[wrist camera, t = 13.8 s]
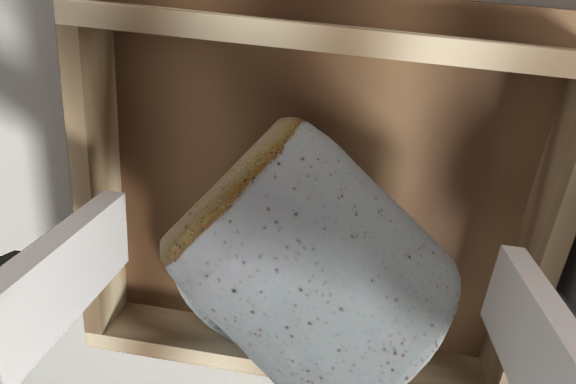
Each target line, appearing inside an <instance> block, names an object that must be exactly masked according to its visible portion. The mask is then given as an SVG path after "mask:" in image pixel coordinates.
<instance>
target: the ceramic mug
mask: <svg viewBox="0 0 576 384" xmlns="http://www.w3.org/2000/svg"><path fill="white" fill-rule="evenodd" d="M160 260H161V262H162V264H163V265H164V267H165V268H166V270H167V272H168V273H169V275H170V276H171V278H172V279H173V280H174V282H175V283H176V286H177V288H178V290H179V292H180V295H181V296H182V298H183V299H184V301H185V302H186V303H187V305H188V306H189V308H191V309H192V311H193V312H194V313H195V314H196V315H197V316H198V317H199V318H200V319H201V320H202V321H203V322H204V323H205V324H206V325H207V326H208V327H209V328H211V329H212V330H214V331H215V332H216V333H218V334H219V335H220V336H222V337H224V338H225V339H227V340H229V341H231V342H232V343H234V344H237V345H238V346H239V347H240V348H241V349H242V350H243V352H244V353H245V354H246V355H247V356H248V357H249V358H250V359H251V360H252V361H253V362H254V363H255V364H256V365H257V366H258V367H259V368H260V369H261V370H262V371H263V372H264V373H265V374H266V375H267V376H268V377H269V378H270V379H271V380H272V381H273V382H274V383H275V384H408V383H409V382H410V381H411V380H412V379H413V378H414V377H415V376H416V375H417V373H418V372H419V371H420V370H421V369H422V368H423V367H424V366H425V365H426V364H427V363H428V362H429V361H430V359H431V358H432V356H433V355H434V354H435V352H436V351H437V350H438V348H439V346H440V345H441V343H442V342H443V340H444V338H445V336H446V334H447V332H448V329H449V327H450V325H451V323H452V321H453V319H454V316H455V314H456V312H457V308H458V304H459V300H460V294H461V277H460V274H459V270H458V268H457V265H456V263H455V261H454V260H453V258H452V257H451V256H450V254H449V253H448V252H447V251H446V250H445V249H444V248H443V247H442V246H441V245H439V244H438V243H437V242H436V241H435V240H434V239H433V238H432V237H431V236H430V235H429V234H428V233H427V232H426V231H425V230H424V229H423V228H422V227H421V226H420V225H419V224H418V223H417V222H416V221H415V220H414V219H413V218H412V217H411V216H410V215H409V214H408V213H407V212H406V211H405V210H404V209H403V208H402V207H400V206H399V205H398V204H397V203H396V202H395V201H394V200H393V199H392V198H391V197H390V196H389V195H388V194H387V193H386V192H385V191H384V190H383V189H382V188H381V187H380V186H378V185H377V184H376V183H375V182H374V181H373V180H372V179H371V178H370V177H369V176H368V175H367V174H366V173H365V172H364V171H363V170H362V169H361V168H360V167H359V166H358V165H357V164H356V163H355V162H354V161H353V160H352V159H351V158H350V157H349V155H348V154H347V153H346V152H345V151H344V150H343V149H342V148H341V147H340V146H339V145H338V144H336V143H335V142H334V141H333V140H332V139H331V138H330V137H328V136H327V135H325V134H324V133H323V132H321V131H320V130H318V129H317V128H316V127H314V126H313V125H311V124H310V123H309V122H307V121H305V120H303V119H301V118H298V117H283V118H281V119H279V120H277V121H276V122H275V123H274V124H273V125H272V126H271V128H270V129H269V130H268V131H267V132H266V133H265V134H264V135H263V136H262V137H261V138H260V139H259V140H258V141H257V142H256V143H255V144H254V145H253V146H252V147H251V148H250V149H249V150H248V151H247V152H246V153H245V154H244V155H243V156H242V157H241V158H240V159H239V160H238V161H237V162H236V163H235V164H234V165H233V166H232V167H231V168H230V169H229V170H228V171H227V172H226V173H225V174H224V175H223V176H222V177H221V178H220V179H219V180H218V181H217V182H216V183H215V184H214V185H213V186H212V187H211V188H210V189H209V190H208V191H207V192H206V193H205V194H204V195H203V196H202V197H201V198H200V199H199V200H198V201H197V202H196V203H195V204H194V205H193V206H192V207H191V208H190V209H189V210H188V211H187V212H186V213H185V214H184V215H183V217H182V218H181V219H179V220H178V221H177V222H176V223H175V224H174V225H173V226H172V227H171V228H170V230H169V231H168V232H167V233H166V234H165V235H164V236H163V237H162V239H161V241H160Z"/></svg>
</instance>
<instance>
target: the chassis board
mask: <svg viewBox="0 0 576 384" xmlns="http://www.w3.org/2000/svg"><path fill="white" fill-rule="evenodd" d="M53 6H54V17H55V27H56V38H57V48H58V58H59V69H60V79H61V89H62V100H63V110H64V121H65V131H66V141H67V152H68V162H69V173H70V183H71V193H72V204H73V213H74V212H75V211H77V210H78V209H79V208H81V207H82V206H83V205H85V204H86V203H87V202H89V201H90V200H91V199H93V198H94V197H96V196H97V195H98V194H100V193H101V192H102V191H104V190H108V191H115V192H122V193H125V200H126V221H127V241H128V262H127V263H126V264H125V265H124V266H123V268H122V269H121V270H120V271H119V272H118V273H117V274H116V275H115V277H114V278H113V279H112V280H111V281H110V282H109V283H108V284H107V286H106V287H105V288H104V289H103V290H102V291H101V292H100V294H99V295H98V296H97V297H96V298H95V299H94V300H93V301H92V303H91V304H90V305H89V306H88V307H87V308H86V309H85V310H84V312H83V318H84V328H85V339H86V346H87V347H93V348H99V349H105V350H111V351H117V352H122V353H128V354H134V355H140V356H146V357H152V358H158V359H164V360H170V361H176V362H182V363H188V364H194V365H200V366H206V367H212V368H218V369H224V370H229V371H235V372H241V373H247V374H253V375H259V376H265V377H268V376H267V375H266V374H265V373H264V372H263V371H262V370H261V369H260V368H259V367H258V366H257V365H256V364H255V363H254V362H253V361H252V360H251V359H250V358H249V357H248V356H247V355H246V354H245V353H244V352H243V350H242V349H241V348H240V347H239V346H238V345H237V344H234V343H232V342H231V341H229V340H227V339H225V338H224V337H222V336H220V335H219V334H218V333H216V332H215V331H214V330H212V329H211V328H209V327H208V326H207V325H206V324H205V323H204V322H203V321H202V320H201V319H200V318H199V317H198V316H197V315H196V314H195V313H194V312H193V311H192V309H191V308H189V306H188V305H187V303H186V302H185V301H184V299H183V298H182V296H181V295H180V292H179V290H178V288H177V286H176V283H175V282H174V280H173V279H172V278H171V276H170V275H169V273H168V272H167V270H166V268H165V267H164V265H163V264H162V262H161V260H160V241H161V239H162V237H163V236H164V235H165V234H166V233H167V232H168V231H169V230H170V228H171V227H172V226H173V225H174V224H175V223H176V222H177V221H178V220H179V219H181V218H182V217H183V215H184V214H185V213H186V212H187V211H188V210H189V209H190V208H191V207H192V206H193V205H194V204H195V203H196V202H197V201H198V200H199V199H200V198H201V197H202V196H203V195H204V194H205V193H206V192H207V191H208V190H209V189H210V188H211V187H212V186H213V185H214V184H215V183H216V182H217V181H218V180H219V179H220V178H221V177H222V176H223V175H224V174H225V173H226V172H227V171H228V170H229V169H230V168H231V167H232V166H233V165H234V164H235V163H236V162H237V161H238V160H239V159H240V158H241V157H242V156H243V155H244V154H245V153H246V152H247V151H248V150H249V149H250V148H251V147H252V146H253V145H254V144H255V143H256V142H257V141H258V140H259V139H260V138H261V137H262V136H263V135H264V134H265V133H266V132H267V131H268V130H269V129H270V128H271V126H272V125H273V124H274V123H275V122H276V121H277V120H279V119H281V118H283V117H298V118H301V119H303V120H305V121H307V122H309V123H310V124H311V125H313V126H314V127H316V128H317V129H318V130H320V131H321V132H323V133H324V134H325V135H327V136H328V137H330V138H331V139H332V140H333V141H334V142H335V143H336V144H338V145H339V146H340V147H341V148H342V149H343V150H344V151H345V152H346V153H347V154H348V155H349V157H350V158H351V159H352V160H353V161H354V162H355V163H356V164H357V165H358V166H359V167H360V168H361V169H362V170H363V171H364V172H365V173H366V174H367V175H368V176H369V177H370V178H371V179H372V180H373V181H374V182H375V183H376V184H377V185H378V186H380V187H381V188H382V189H383V190H384V191H385V192H386V193H387V194H388V195H389V196H390V197H391V198H392V199H393V200H394V201H395V202H396V203H397V204H398V205H399V206H400V207H402V208H403V209H404V210H405V211H406V212H407V213H408V214H409V215H410V216H411V217H412V218H413V219H414V220H415V221H416V222H417V223H418V224H419V225H420V226H421V227H422V228H423V229H424V230H425V231H426V232H427V233H428V234H429V235H430V236H431V237H432V238H433V239H434V240H435V241H436V242H437V243H438V244H439V245H441V246H442V247H443V248H444V249H445V250H446V251H447V252H448V253H449V254H450V256H451V257H452V258H453V260H454V261H455V263H456V265H457V268H458V270H459V274H460V277H461V294H460V300H459V304H458V308H457V312H456V314H455V316H454V319H453V321H452V323H451V325H450V327H449V329H448V332H447V334H446V336H445V338H444V340H443V342H442V343H441V345H440V346H439V348H438V350H437V351H436V352H435V354H434V355H433V356H432V358H431V359H430V361H429V362H428V363H427V364H426V365H425V366H424V367H423V368H422V369H421V370H420V371H419V372H418V373H417V375H416V376H415V377H414V378H413V379H412V380H411V381H410V382H409V383H408V384H509V381H508V379H507V377H506V374H505V372H504V370H503V367H502V365H501V362H500V360H499V358H498V355H497V353H496V350H495V348H494V346H493V343H492V341H491V338H490V336H489V334H488V331H487V329H486V326H485V324H484V322H483V319H482V317H481V314H480V313H481V310H482V306H483V303H484V300H485V296H486V293H487V290H488V286H489V283H490V280H491V276H492V273H493V270H494V267H495V263H496V260H497V257H498V253H499V250H500V247H501V245H508V246H515V247H522V248H526V250H527V251H528V252H529V254H530V255H531V257H532V258H533V259H534V261H535V262H536V264H537V265H538V266H539V268H540V269H541V270H542V272H543V273H544V275H545V276H546V277H547V279H548V280H549V282H550V283H551V284H552V286H553V287H554V289H555V290H556V291H557V293H558V294H559V295H560V297H561V298H562V300H563V301H564V302H565V304H566V305H567V307H568V308H569V309H570V311H571V312H572V314H573V315H574V316H575V318H576V11H575V10H564V9H553V8H543V7H532V6H521V5H511V4H500V3H489V2H479V1H468V0H53Z"/></svg>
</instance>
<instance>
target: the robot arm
mask: <svg viewBox="0 0 576 384" xmlns="http://www.w3.org/2000/svg"><path fill="white" fill-rule="evenodd" d="M127 262H128V241H127V221H126V200H125V193H122V192H115V191H108V190H104V191H102V192H101V193H100V194H98V195H97V196H96V197H94V198H93V199H91V200H90V201H89V202H87V203H86V204H85V205H83V206H82V207H81V208H79V209H78V210H77V211H75V212H74V213H72V214H71V215H70V216H68V217H67V218H66V219H64V220H63V221H62V222H60V223H59V224H57V225H56V226H55V227H53V228H52V229H51V230H49V231H48V232H47V233H45V234H44V235H43V236H41V237H40V238H38V239H37V240H36V241H34V242H33V243H32V244H30V245H29V246H28V247H26V248H25V249H23V250H22V251H16V250H15V251H12V252H10V253H8V254H5V255H3V256H0V384H20V383H21V382H22V380H23V379H24V378H25V377H26V376H27V375H28V374H29V373H30V371H31V370H32V369H33V368H34V367H35V366H36V365H37V364H38V362H39V361H40V360H41V359H42V358H43V357H44V356H45V355H46V353H47V352H48V351H49V350H50V349H51V348H52V347H53V345H54V344H55V343H56V342H57V341H58V340H59V339H60V338H61V336H62V335H63V334H64V333H65V332H66V331H67V330H68V329H69V327H70V326H71V325H72V324H73V323H74V322H75V321H76V319H77V318H78V317H79V316H80V315H81V314H82V313H83V312H84V310H85V309H86V308H87V307H88V306H89V305H90V304H91V303H92V301H93V300H94V299H95V298H96V297H97V296H98V295H99V294H100V292H101V291H102V290H103V289H104V288H105V287H106V286H107V284H108V283H109V282H110V281H111V280H112V279H113V278H114V277H115V275H116V274H117V273H118V272H119V271H120V270H121V269H122V268H123V266H124V265H125V264H126V263H127ZM480 314H481V317H482V319H483V322H484V324H485V326H486V329H487V331H488V334H489V336H490V338H491V341H492V343H493V346H494V348H495V350H496V353H497V355H498V358H499V360H500V362H501V365H502V367H503V370H504V372H505V374H506V377H507V379H508V381H509V384H576V318H575V316H574V315H573V314H572V312H571V311H570V309H569V308H568V307H567V305H566V304H565V302H564V301H563V300H562V298H561V297H560V295H559V294H558V293H557V291H556V290H555V289H554V287H553V286H552V284H551V283H550V282H549V280H548V279H547V277H546V276H545V275H544V273H543V272H542V270H541V269H540V268H539V266H538V265H537V264H536V262H535V261H534V259H533V258H532V257H531V255H530V254H529V252H528V251H527V250H526V248H522V247H515V246H508V245H501V247H500V250H499V253H498V257H497V260H496V263H495V267H494V270H493V273H492V276H491V280H490V283H489V286H488V290H487V293H486V296H485V300H484V303H483V306H482V310H481V313H480Z"/></svg>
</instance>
